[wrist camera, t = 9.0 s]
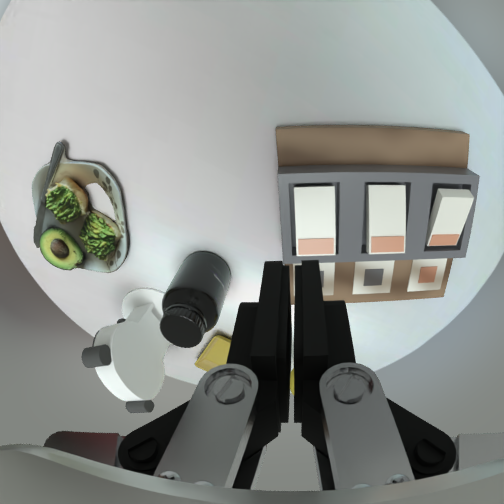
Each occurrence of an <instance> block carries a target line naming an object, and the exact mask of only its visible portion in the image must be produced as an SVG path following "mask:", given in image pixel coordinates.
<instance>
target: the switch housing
mask: <svg viewBox="0 0 504 504" xmlns="http://www.w3.org/2000/svg"><path fill="white" fill-rule="evenodd" d="M277 175H278V189H279V204H280V219H281V235H282V252H283V264H300V263H301V260H319V263H334V262H364V261H392V260H418V259H443V258H465V256H466V252H467V248H468V243H469V238H470V233H471V228H472V223H473V217H474V211H475V205H476V199H477V192H478V184H479V175H477V174H475V173H474V172H472V171H471V170H469V169H467V168H455V167H437V166H413V165H307V166H282V167H278V174H277ZM313 185H334V186H335V230H336V255H324V256H297V251H296V224H295V201H294V186H313ZM366 185H405V189H406V238H405V253H394V254H368V253H367V252H366ZM438 189H466V190H470V192H471V194H472V195H473V197H474V200H473V203H472V206H471V208H470V211H469V214H468V216H467V219H466V222H465V224H464V227H463V229H462V232H461V234H460V237H459V239H458V242H457V244H456V245H445V246H427V245H426V242H425V241H426V234H427V228H428V222H429V219H430V215H431V212H432V208H433V205H434V201H435V198H436V194H437V190H438Z"/></svg>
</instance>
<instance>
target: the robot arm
mask: <svg viewBox="0 0 504 504" xmlns="http://www.w3.org/2000/svg"><path fill="white" fill-rule="evenodd" d="M291 345H292V323H291V294H290V269H289V265H283V262H282V261H265V264H264V270H263V277H262V284H261V290H260V297H259V302H241V303H240V305H239V309H238V313H237V318H236V322H235V326H234V331H233V335H232V340H231V344H230V348H229V353H228V357H227V362H226V364H224V365H219V366H217V367H214V368H212V369H210V370H209V371H208V372H206V373H205V374H204V375H203V377H202V378H201V379H200V381H199V383H198V385H197V387H196V389H195V391H194V394H193V395H192V398H191V400H189V401H187V402H186V403H184V404H182V405H180V406H179V407H177V408H175V409H173V410H171V411H170V412H168V413H166V414H164V415H162V416H161V417H159V418H157V419H155V420H153V421H151V422H150V423H148V424H146V425H144V426H142V427H140V428H138V429H136V430H134V431H132V432H131V433H130V434H128V435H127V436H120V435H119V433H94V432H92V433H91V432H73V431H58V432H56V433H54V434H52V435H51V436H49V438H47V440H46V441H45V444H44V446H39V445H32V444H9V445H2V446H0V504H504V433H483V434H459V435H458V436H457V437H449V436H448V435H447V434H445V433H444V432H443V431H441V430H439V429H437V428H436V427H434V426H432V425H431V424H429V423H427V422H426V421H424V420H422V419H421V418H419V417H417V416H415V415H414V414H412V413H411V412H409V411H407V410H406V409H404V408H403V407H401V406H399V405H398V404H396V403H394V402H393V401H391V400H389V399H388V398H386V396H385V394H384V391H383V389H382V386H381V383H380V381H379V379H378V377H377V376H376V374H375V373H374V372H373V371H372V370H371V369H370V368H368V367H366V366H364V365H362V364H358V363H356V361H355V355H354V349H353V342H352V337H351V331H350V325H349V320H348V314H347V309H346V304H345V301H344V300H334V301H323V292H322V283H321V275H320V266H319V260H301V265H295V312H294V423H302V430H301V431H302V437H304V438H305V439H306V440H307V441H308V442H310V443H311V444H312V445H313V452H314V458H315V463H316V470H317V475H318V481H319V488H320V491H262V490H254V489H255V486H256V483H257V479H258V476H259V473H260V470H261V466H262V463H263V460H264V456H265V453H266V449H267V444H268V443H269V442H270V441H272V440H273V439H275V438H276V437H277V436H278V432H280V431H281V423H288V419H289V418H288V417H289V397H290V375H291Z"/></svg>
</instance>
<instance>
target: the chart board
mask: <svg viewBox="0 0 504 504" xmlns="http://www.w3.org/2000/svg"><path fill="white" fill-rule="evenodd" d="M276 141H277V153H278V167H282V166H307V165H413V166H437V167H455V168H467V164H468V152H469V134H467V133H464V132H461V131H452V130H442V129H430V128H417V127H400V126H375V125H311V126H285V127H276ZM452 260H453V258H443V259H418V260H392V261H364V262H334V263H319V266H320V275H321V283H322V292H323V301H334V300H344V301H345V303H357V302H377V301H395V300H410V299H425V298H438V297H444V293H445V289H446V285H447V281H448V277H449V273H450V269H451V265H452ZM285 265H289V269H290V294H291V305H295V265H301V263H300V264H285Z"/></svg>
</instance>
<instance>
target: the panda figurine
mask: <svg viewBox="0 0 504 504" xmlns="http://www.w3.org/2000/svg"><path fill="white" fill-rule="evenodd" d="M164 294H165V293H164V292H162V291H159V290H156V289H152V288H138V289H135V290H132V291H131V292H129V293H128V294H127V295H126V296H125V298H124V300H123V302H122V314H123V317H124V319H119V320H118V321H117V324H114V325H110V326H106V327H103V328H102V329H100V330H99V331H98V332H97V333H96V335H95V337H94V341H93V346H92V347H89V348H85V349H84V350H83V352H82V361H83V364H84V365H85V367H87V368H93V367H95V369H96V372H97V374H98V376H99V378H100V379H101V381H102V382H103V384H104V385H105V386H106V387H107V388H108V390H109V391H111V392H112V393H113V394H114V395H115V396H116V397H118V398H119V399H121V400H123V401H128V402H127V403H126V409H127V410H128V411H129V412H130V413H144V412H152V410H153V408H154V403H153V402H152V401H151V399H153V398H154V397H155V396H156V395H157V394H158V392H159V391H160V389H161V387H162V385H163V381H164V375H165V369H164V362H163V358H164V356H165V353H166V351H167V348H168V346H169V345H171V344H172V343H170V342H169V341H167V340H166V338H164V336H163V335H162V333H161V331H160V321H161V319H162V317H163V311H162V299H163V296H164Z"/></svg>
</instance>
